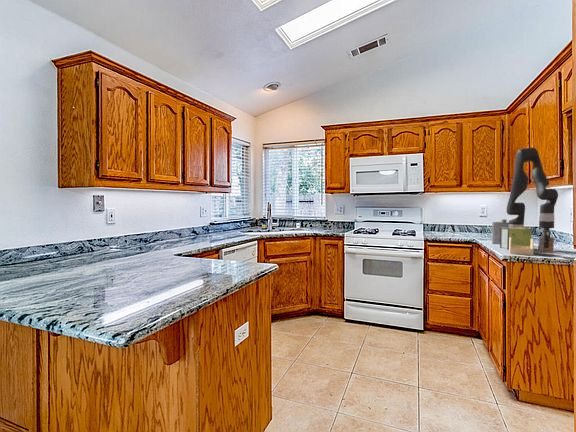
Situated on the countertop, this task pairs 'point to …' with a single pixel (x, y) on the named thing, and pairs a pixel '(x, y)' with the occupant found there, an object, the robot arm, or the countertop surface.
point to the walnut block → (541, 245)
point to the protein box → (515, 237)
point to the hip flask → (498, 230)
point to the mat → (545, 254)
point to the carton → (521, 248)
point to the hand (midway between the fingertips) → (545, 247)
